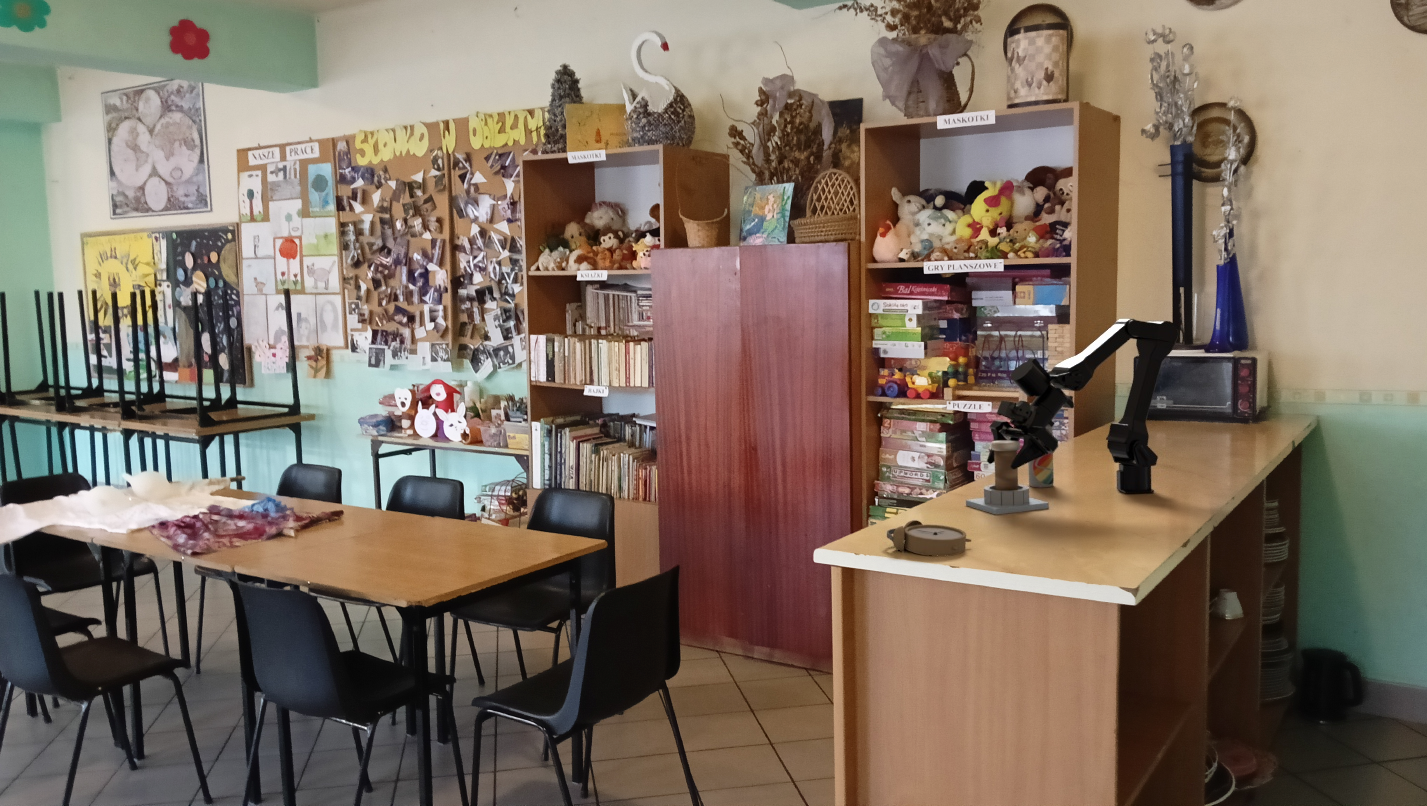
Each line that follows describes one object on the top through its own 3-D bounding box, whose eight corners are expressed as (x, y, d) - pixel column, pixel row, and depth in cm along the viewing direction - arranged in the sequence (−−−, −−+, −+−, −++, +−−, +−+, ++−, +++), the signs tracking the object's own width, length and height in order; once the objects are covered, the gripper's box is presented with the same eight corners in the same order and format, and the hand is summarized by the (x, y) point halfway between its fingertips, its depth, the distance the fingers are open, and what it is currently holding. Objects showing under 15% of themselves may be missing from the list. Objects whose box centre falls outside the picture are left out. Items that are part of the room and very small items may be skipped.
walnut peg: (1022, 498, 235) (1020, 440, 234) (1020, 504, 229) (1018, 444, 228) (994, 498, 237) (992, 440, 236) (991, 503, 231) (990, 444, 230)
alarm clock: (955, 543, 190) (878, 523, 198) (951, 570, 191) (874, 548, 199) (976, 530, 199) (901, 511, 207) (972, 555, 200) (898, 535, 208)
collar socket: (1016, 499, 241) (1016, 480, 240) (1048, 508, 229) (1048, 488, 229) (966, 505, 237) (965, 486, 237) (995, 514, 226) (995, 495, 225)
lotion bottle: (1055, 487, 253) (1053, 403, 251) (1030, 487, 254) (1027, 404, 252) (1052, 483, 258) (1050, 400, 256) (1027, 483, 259) (1025, 401, 257)
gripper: (995, 384, 241) (953, 437, 239) (1044, 389, 223) (1000, 446, 221) (1026, 416, 244) (985, 468, 242) (1077, 423, 226) (1034, 480, 224)
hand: (1000, 465), depth 232 cm, fingers open, 9 cm apart
